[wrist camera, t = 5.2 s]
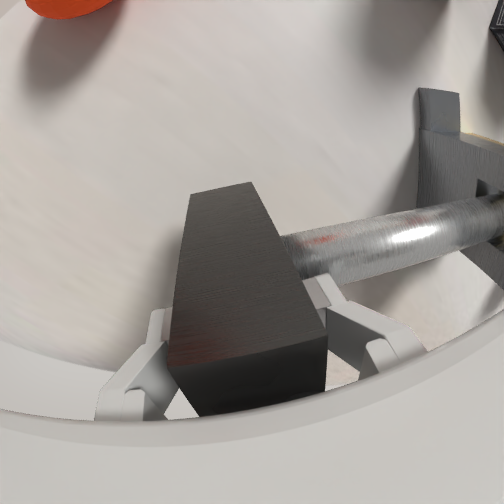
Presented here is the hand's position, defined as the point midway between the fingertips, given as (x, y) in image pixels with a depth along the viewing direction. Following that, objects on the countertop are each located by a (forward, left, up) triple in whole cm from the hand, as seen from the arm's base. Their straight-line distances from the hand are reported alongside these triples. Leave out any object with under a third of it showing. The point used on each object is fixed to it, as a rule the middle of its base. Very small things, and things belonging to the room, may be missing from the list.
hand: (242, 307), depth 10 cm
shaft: (+8, 0, -6) cm, 10 cm away
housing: (+17, 0, -10) cm, 20 cm away
